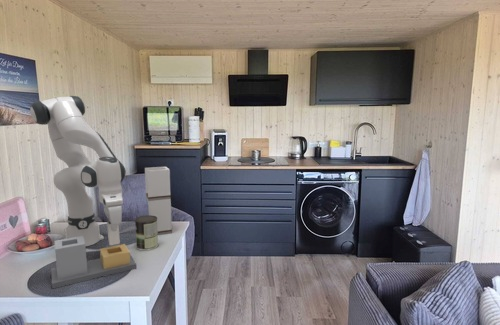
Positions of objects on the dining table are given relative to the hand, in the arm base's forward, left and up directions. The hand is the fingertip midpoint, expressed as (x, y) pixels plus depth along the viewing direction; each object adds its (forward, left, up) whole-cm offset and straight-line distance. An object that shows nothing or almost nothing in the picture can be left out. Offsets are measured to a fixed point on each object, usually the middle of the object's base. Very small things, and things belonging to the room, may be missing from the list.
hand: (113, 229), depth 134 cm
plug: (0, 0, -6) cm, 6 cm away
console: (0, -8, -16) cm, 18 cm away
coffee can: (-14, +17, -17) cm, 28 cm away
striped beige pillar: (-31, +28, -17) cm, 45 cm away
